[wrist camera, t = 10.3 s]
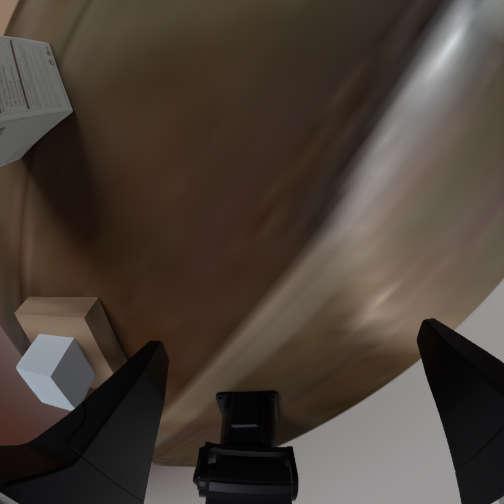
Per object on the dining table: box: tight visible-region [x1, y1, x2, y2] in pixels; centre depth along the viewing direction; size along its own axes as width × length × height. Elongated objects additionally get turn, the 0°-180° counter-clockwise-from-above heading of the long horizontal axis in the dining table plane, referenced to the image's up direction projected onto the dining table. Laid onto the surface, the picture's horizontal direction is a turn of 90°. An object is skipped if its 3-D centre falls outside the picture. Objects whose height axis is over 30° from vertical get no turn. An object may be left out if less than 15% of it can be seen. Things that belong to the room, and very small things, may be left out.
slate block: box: [16, 334, 96, 411], centre depth 21 cm, size 5×5×5 cm
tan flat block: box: [15, 297, 127, 389], centre depth 25 cm, size 10×10×3 cm
